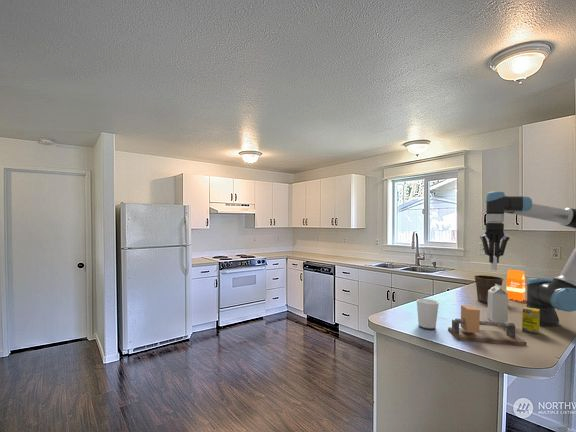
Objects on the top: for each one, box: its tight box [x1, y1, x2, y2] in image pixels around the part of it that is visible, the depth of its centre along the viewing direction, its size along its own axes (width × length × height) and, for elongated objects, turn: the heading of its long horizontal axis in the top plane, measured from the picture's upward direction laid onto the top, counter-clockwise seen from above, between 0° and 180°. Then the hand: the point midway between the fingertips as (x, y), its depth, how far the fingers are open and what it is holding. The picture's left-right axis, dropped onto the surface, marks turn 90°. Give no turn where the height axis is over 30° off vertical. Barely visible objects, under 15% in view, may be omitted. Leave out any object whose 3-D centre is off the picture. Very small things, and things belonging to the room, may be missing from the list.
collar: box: [460, 304, 481, 333], centre depth 139 cm, size 5×7×10 cm
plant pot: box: [473, 274, 504, 304], centre depth 203 cm, size 16×16×16 cm
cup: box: [416, 298, 440, 331], centre depth 149 cm, size 10×10×13 cm
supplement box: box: [521, 306, 540, 335], centre depth 148 cm, size 6×6×11 cm
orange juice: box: [506, 269, 526, 302], centre depth 212 cm, size 8×9×20 cm
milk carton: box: [486, 284, 509, 323], centre depth 163 cm, size 7×7×19 cm
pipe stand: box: [447, 318, 527, 347], centre depth 138 cm, size 27×12×8 cm, turn 81°
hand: (493, 269), depth 154 cm, fingers closed
